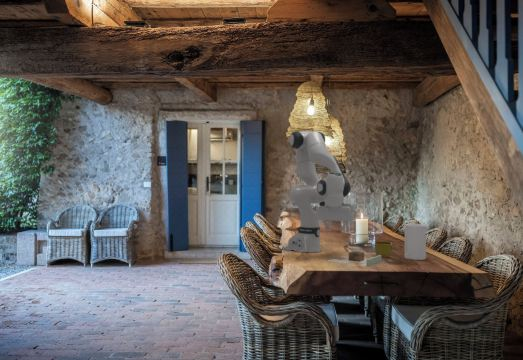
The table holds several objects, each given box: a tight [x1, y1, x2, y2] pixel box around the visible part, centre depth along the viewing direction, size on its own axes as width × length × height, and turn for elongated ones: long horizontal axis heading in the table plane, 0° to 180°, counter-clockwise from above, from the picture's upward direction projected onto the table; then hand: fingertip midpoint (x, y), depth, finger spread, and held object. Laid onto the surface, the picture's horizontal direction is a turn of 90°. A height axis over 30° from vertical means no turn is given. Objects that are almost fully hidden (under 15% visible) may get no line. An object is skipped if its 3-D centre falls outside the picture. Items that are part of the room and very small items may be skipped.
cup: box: [403, 223, 427, 261], centre depth 254 cm, size 11×11×18 cm
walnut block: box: [348, 250, 365, 263], centre depth 238 cm, size 6×6×4 cm
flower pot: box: [374, 240, 393, 259], centre depth 250 cm, size 9×9×9 cm
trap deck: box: [327, 255, 382, 267], centre depth 236 cm, size 22×18×4 cm
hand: (334, 229), depth 245 cm, fingers open, 8 cm apart
